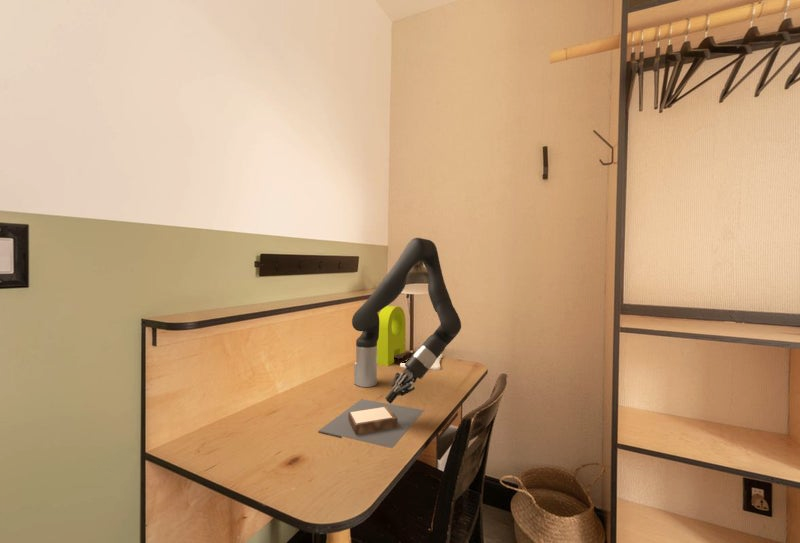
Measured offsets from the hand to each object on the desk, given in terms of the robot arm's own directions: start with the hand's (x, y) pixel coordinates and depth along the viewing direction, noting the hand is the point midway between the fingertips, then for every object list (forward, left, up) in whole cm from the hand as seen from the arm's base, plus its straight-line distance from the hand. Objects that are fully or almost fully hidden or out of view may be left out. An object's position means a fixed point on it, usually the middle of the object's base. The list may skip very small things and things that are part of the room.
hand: (387, 401), depth 118 cm
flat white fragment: (-13, +72, -8) cm, 74 cm away
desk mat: (-5, -1, -7) cm, 9 cm away
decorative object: (-30, +68, -8) cm, 75 cm away
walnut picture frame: (+1, +1, -5) cm, 6 cm away
